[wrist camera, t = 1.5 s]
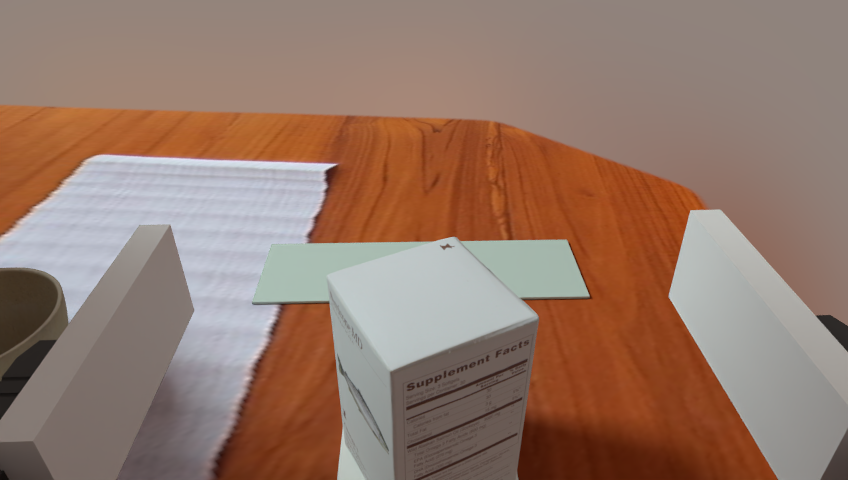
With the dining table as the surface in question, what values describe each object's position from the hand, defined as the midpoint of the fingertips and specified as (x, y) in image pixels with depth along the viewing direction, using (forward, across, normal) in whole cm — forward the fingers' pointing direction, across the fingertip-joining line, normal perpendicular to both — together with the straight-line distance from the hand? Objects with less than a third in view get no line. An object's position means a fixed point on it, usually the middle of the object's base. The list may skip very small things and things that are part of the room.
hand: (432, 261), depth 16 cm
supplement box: (+9, 0, -20) cm, 22 cm away
